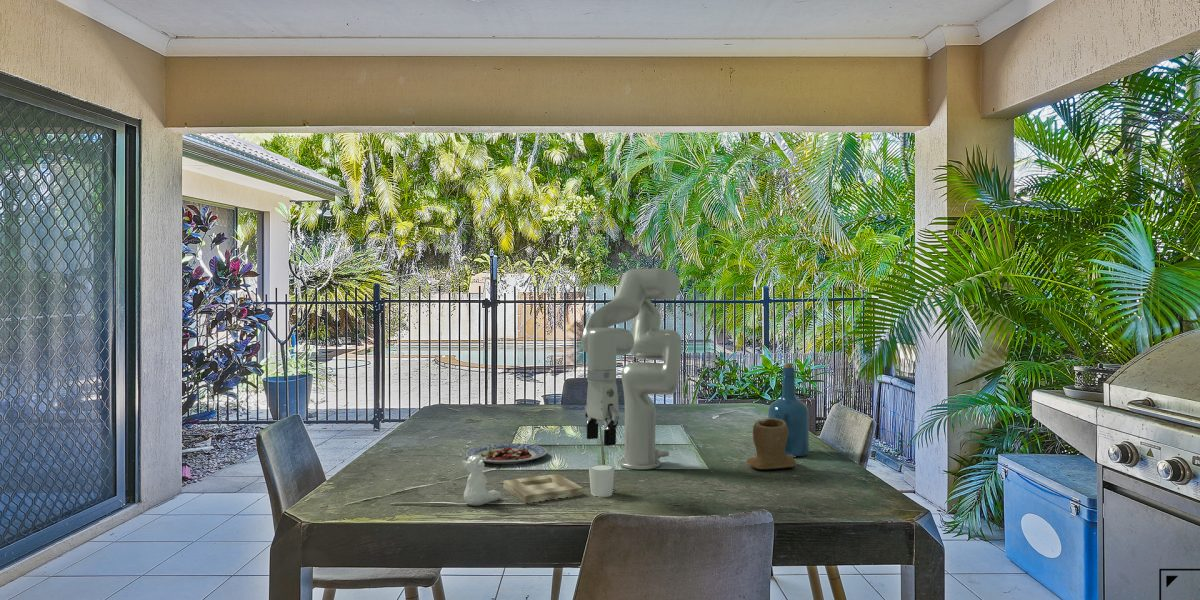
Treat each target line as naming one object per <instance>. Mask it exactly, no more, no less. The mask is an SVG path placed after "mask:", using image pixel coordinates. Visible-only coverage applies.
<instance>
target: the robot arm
mask: <svg viewBox="0 0 1200 600" xmlns="http://www.w3.org/2000/svg"><path fill="white" fill-rule="evenodd" d="M680 288H681V283H680V278H679V277H678V275H677V274H676V272H673V271H670V270H667V269H664V268H657V267H656V268H653V267H652V268H651V267H650V268H632V269H629V270H626V271H625V272H624V273H623V274H622V277H621V279H620V281H619V284H618V286H617V289H616V291H615V293H614V295H613V297H612V300H611V301H609V302H607V303H605V304H604V305H602V306H601V307H599V308H598V309H597V310H595V311H594V312H593V313H592V314H591V315H590V316H589V317H588V319H587V321H586V323H585V326H584V328H583V332H582V335H581V337H580V345H581V348H582V350H583V352H585V353H586V354H587V371H586V372H587V373H586V374H587V375H586V376H587V380H586V382H587V383H588V384H587V390H586V404H585V405H584V412H585V414H584V415H585V418H586V420H585V423H586V439H587V440H595V439H599V422H598V421H600V422H603V425H604V428H605V429H603V444H604V445H603V446H615V445H616V444H617V429H618V424H619V419H620V413H619V412H620V410H619V408H620V407H619V394H618V386H617V357H619V356H620V357H621V356H622V357H623V356H626V355H628V354H631V355H632V357H634V358H635V359H639V360H650V362H648V361H636V362H635V361H634V362H629V363H627V364H626V365H625V366H624V367H623V368H622V371H621V383H622V384H621V385H622V390H623V399H624V400H623V401H624V457H623V458H621V459H619V463H618V464H619V465H620V466H621V467H623V468H625V469H629V470H630V469H631V470H653V469H657V468H659V467H661V461H660V459H661V458H665V457H669V456H670V452H669V450H667V449H665V450H661V449H656V413H657V411H656V406H655V403H654V402H653V399H652V398H651V397H650V395H664V396H666V395H673V394H675V393H676V391H677V390H678V387H679V382H680V381H679V380H680V371H681V362H682V361H681V360H682V350H683V349H682V348H683V347H682V345H683V344H682V339H681V335H680V333H678V331H676V330H674V329H664V328H663V329H661V318H662V316H661V313H660V312H659V310H658V309H657V307H656V306H655V304H653V302H652V301H651V300H674V299H676V298H677V297H678V295H679V293H680ZM630 320H633V321H632V322H633V323H632V330H631V331H630V330H628V329H627V328H623V327H613V326H615V325H619V324H623V323H626V322H629V321H630ZM651 360H656V361H664V362H651Z"/></svg>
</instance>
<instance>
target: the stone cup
mask: <svg viewBox="0 0 1200 600" xmlns="http://www.w3.org/2000/svg"><path fill="white" fill-rule="evenodd" d="M787 438H788V427H787V424H786V422H785V421H783V420H781V419H777V418H768V417H767V418H764V419H761V420H756V422H755V423H754V424H753V428H752V440H753V444H754V447H755V451H756V452H755V453H756V456H755V457H749V458H748V459H746V463H747V465H748V466H750V467H751V468H754V469H757V470H776V469H777V470H778V469H788V468H794V467H797V466H798V465H797V462H796V460H795V457H793V455H791V454H787V455H785V447H786V442H787Z"/></svg>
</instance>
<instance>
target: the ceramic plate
mask: <svg viewBox="0 0 1200 600" xmlns="http://www.w3.org/2000/svg"><path fill="white" fill-rule="evenodd" d="M547 453H548V450H547V448H545V447H542V446H541V445H535V444H530V443H520V442H519V443H518V442H515V443H514V442H513V443H512V442H511V443H510V442H507V443H493V444H492V443H491V444H485V445H479V446H476V447H473V448H471V449H468V450H467V451H466V452H465V455H466V457H468V458H469V457H471V456H472V455H479V456H480V458H482V460H483V463H487V464H492V463H493V464H492V465H496V464H497V465H513V464H514V463H515V464H521V462H522V463H526V461H527V462H529V460H530V461H531V460H535V459H539V458H541V457H544V456H546V454H547Z"/></svg>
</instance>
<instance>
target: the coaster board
mask: <svg viewBox="0 0 1200 600" xmlns="http://www.w3.org/2000/svg"><path fill="white" fill-rule="evenodd" d="M502 483H503V489H504V490H505V491H506V492H508V493H509V494H511V495H512V494H513V496H514V497H515V496H516V497H515V498H517V499H518V500H519V499H520V501H521V502H522V501H523V502H524V503H523V502H522V503H523V504H524V505H527V504H526V503H528V504H534V503H533V502H535V503H539V501H541V502H546V501H545V500H548V501H552V500H551V499H555V500H559V499H558V498H562V499H567V498H566V497H568V498H575V497H581V496H580V495H582V496H584V488H583V486H581V485H579V484H577V483H576V482H573V481H572V480H570V479H568V478H566V477H564V476H562V475H560V474H559V473H553V474H552V473H551V474H545V475H537V476H536V475H535V476H529V477H522V478H514V479H512V478H511V479H506V480H505V479H504V480H503V482H502ZM574 496H575V497H574Z"/></svg>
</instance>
